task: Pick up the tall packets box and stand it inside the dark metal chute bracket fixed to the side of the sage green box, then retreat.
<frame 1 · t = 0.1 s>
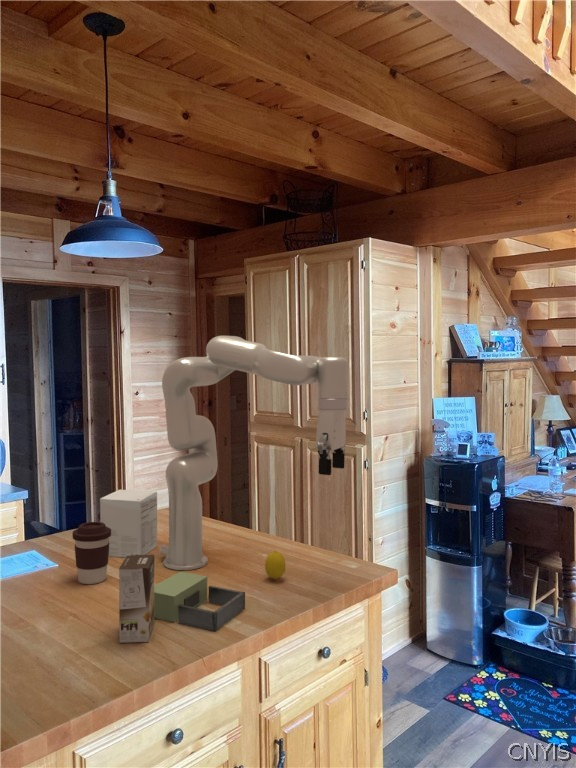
hand: (331, 471, 160), 31 cm above the table, tool pointing down, fingers open, 9 cm apart
coffee box: (137, 634, 136), on the table
coffee cup: (92, 580, 167), on the table
supplement box: (129, 551, 192), on the table
sage green box: (177, 607, 150), on the table
chute bracket: (211, 615, 146), on the table
lemon: (275, 580, 169), on the table
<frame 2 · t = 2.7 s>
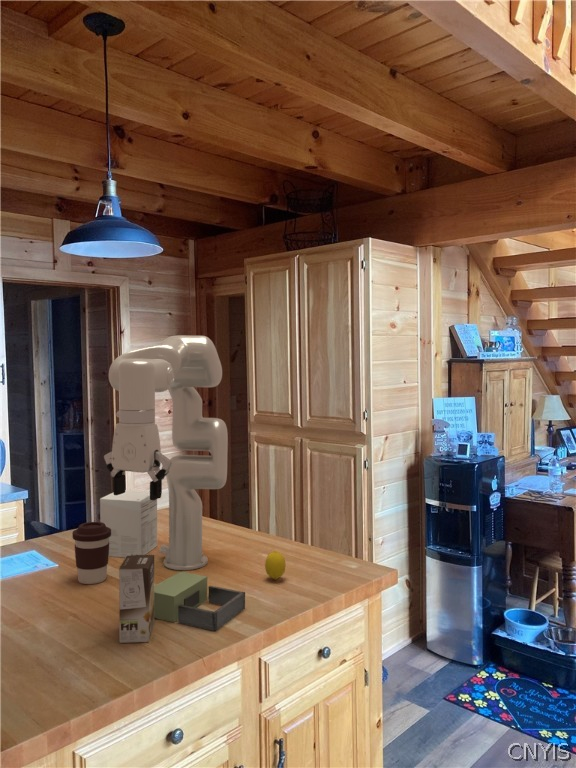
hand: (137, 496, 135), 30 cm above the table, tool pointing down, fingers open, 9 cm apart
nothing on the table moved.
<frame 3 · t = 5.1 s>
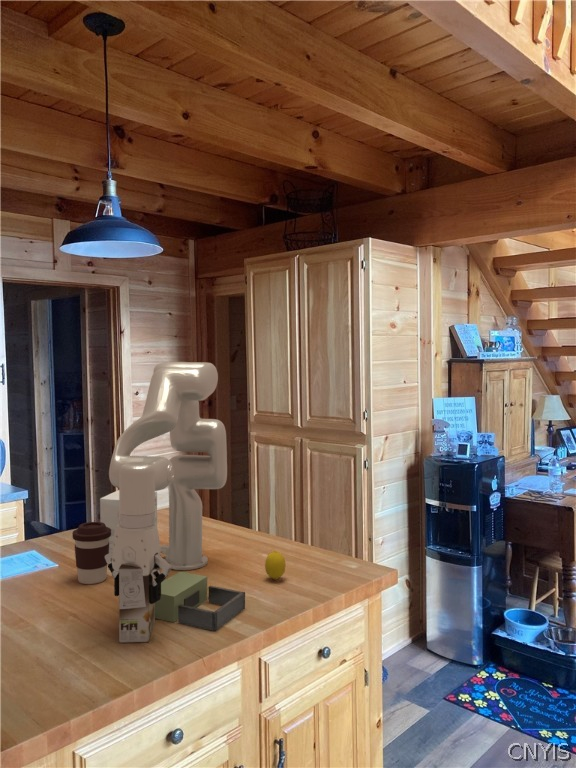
hand: (137, 597, 136), 8 cm above the table, tool pointing down, fingers closed on coffee box, 9 cm apart
coffee box: (137, 634, 136), on the table, touching gripper
everything else where it was.
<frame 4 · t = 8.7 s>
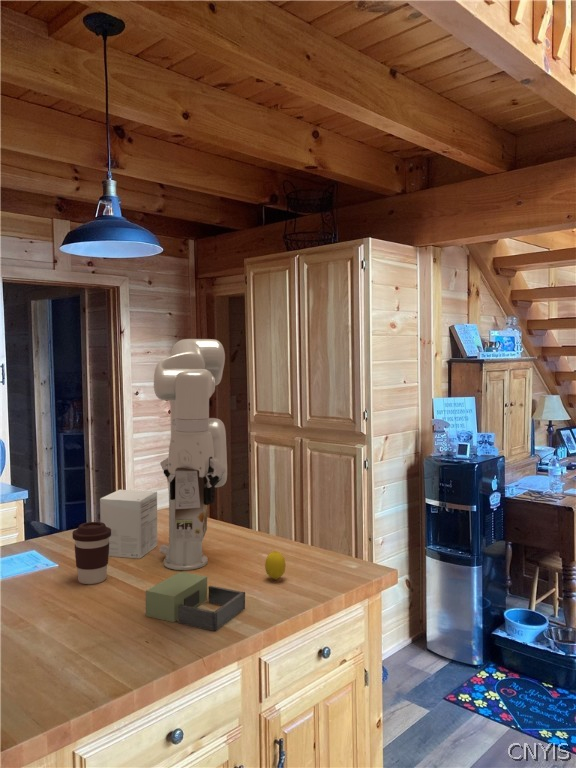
hand: (192, 501, 142), 28 cm above the table, tool pointing down, fingers closed on coffee box, 8 cm apart
coffee box: (191, 536, 142), point 19 cm above the table, touching gripper
everything else where it was.
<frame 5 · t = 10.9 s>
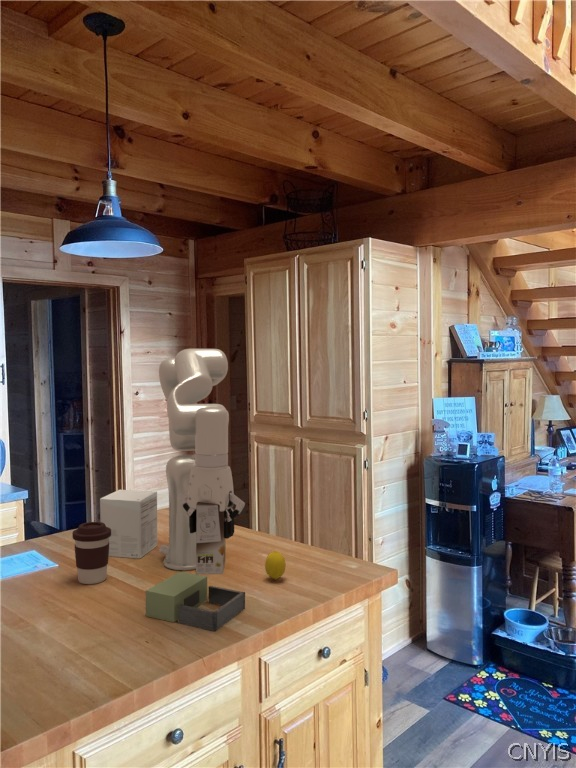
hand: (211, 534, 145), 19 cm above the table, tool pointing down, fingers closed on coffee box, 8 cm apart
coffee box: (211, 568, 145), point 11 cm above the table, touching gripper
everything else where it was.
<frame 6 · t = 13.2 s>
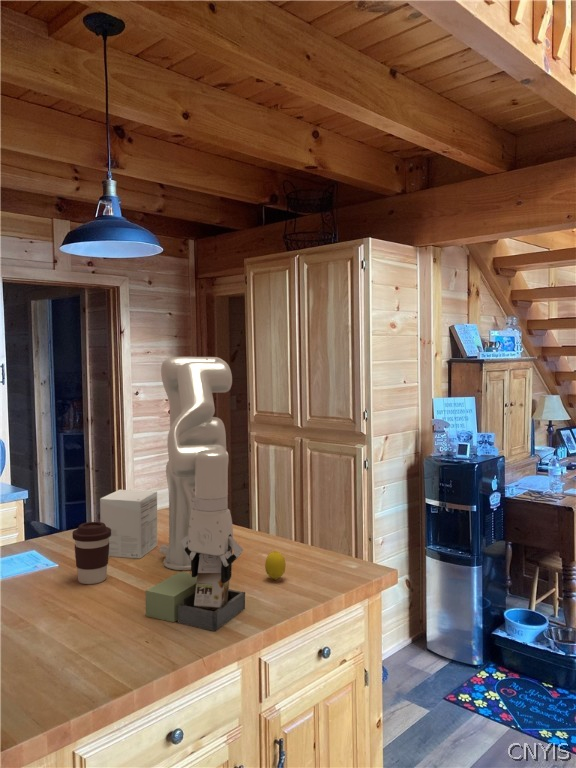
hand: (211, 577, 145), 9 cm above the table, tool pointing down, fingers closed on coffee box, 7 cm apart
coffee box: (210, 608, 145), point 2 cm above the table, touching chute bracket, gripper
everything else where it was.
when the fingers open (9 cm above the table, at t = 13.4 s): coffee box drops 2 cm, on the table.
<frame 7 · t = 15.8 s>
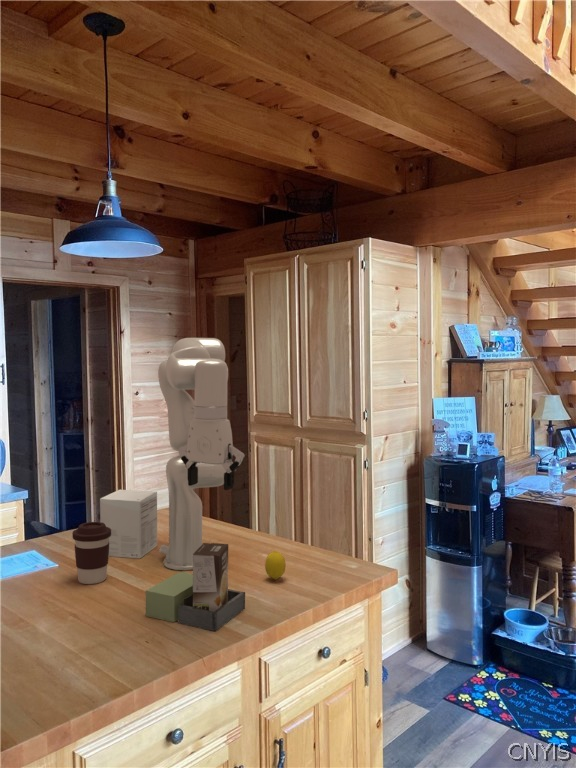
hand: (210, 486, 145), 30 cm above the table, tool pointing down, fingers open, 9 cm apart
coffee box: (210, 617, 145), on the table
everything else where it was.
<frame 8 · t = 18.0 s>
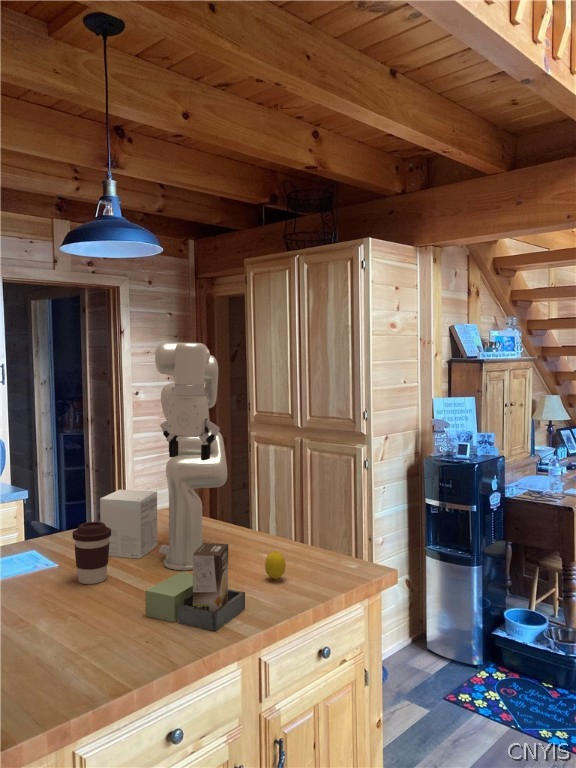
hand: (189, 458, 160), 34 cm above the table, tool pointing down, fingers open, 9 cm apart
nothing on the table moved.
at the end: coffee box 0.5 cm off-centre on the chute bracket, point 0.0 cm above the chute bracket's base; coffee box tilted 0°; the gripper is holding nothing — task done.
